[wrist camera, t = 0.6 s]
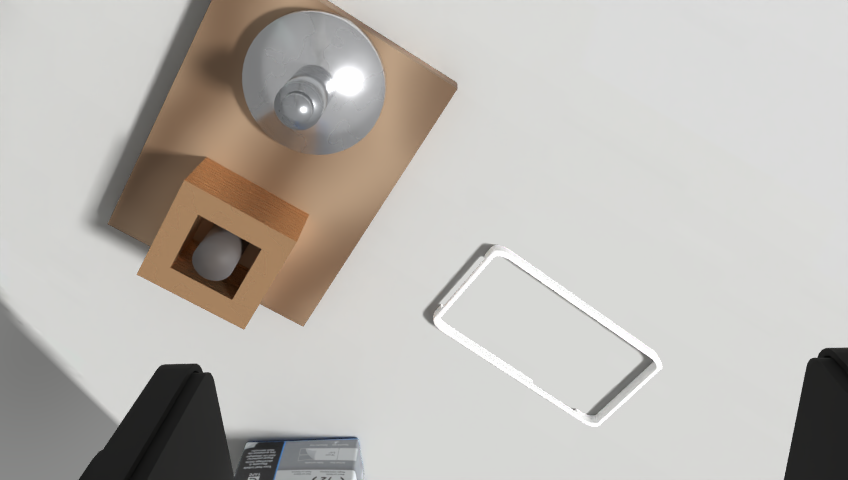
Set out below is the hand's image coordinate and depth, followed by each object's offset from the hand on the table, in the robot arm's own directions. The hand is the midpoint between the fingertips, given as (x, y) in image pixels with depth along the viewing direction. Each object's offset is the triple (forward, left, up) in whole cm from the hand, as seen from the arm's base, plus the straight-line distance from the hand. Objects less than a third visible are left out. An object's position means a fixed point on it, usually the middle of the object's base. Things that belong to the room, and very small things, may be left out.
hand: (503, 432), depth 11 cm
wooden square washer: (-6, -17, -31) cm, 36 cm away
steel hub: (-6, -6, -31) cm, 32 cm away
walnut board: (-6, -11, -33) cm, 35 cm away
